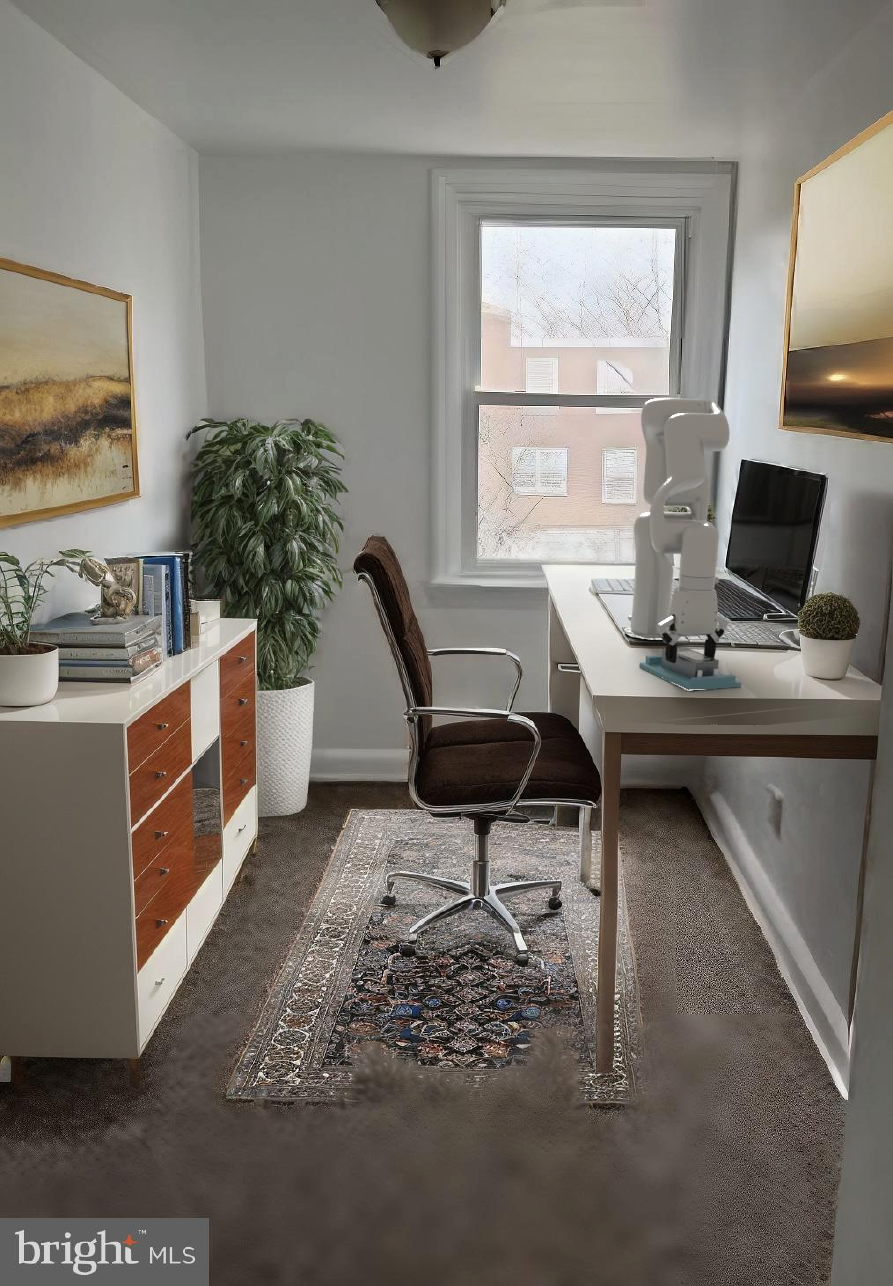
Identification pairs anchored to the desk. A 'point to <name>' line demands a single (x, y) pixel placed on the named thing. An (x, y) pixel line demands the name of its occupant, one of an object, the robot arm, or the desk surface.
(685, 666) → the block
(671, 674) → the blue pegged tray
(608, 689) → the desk surface
